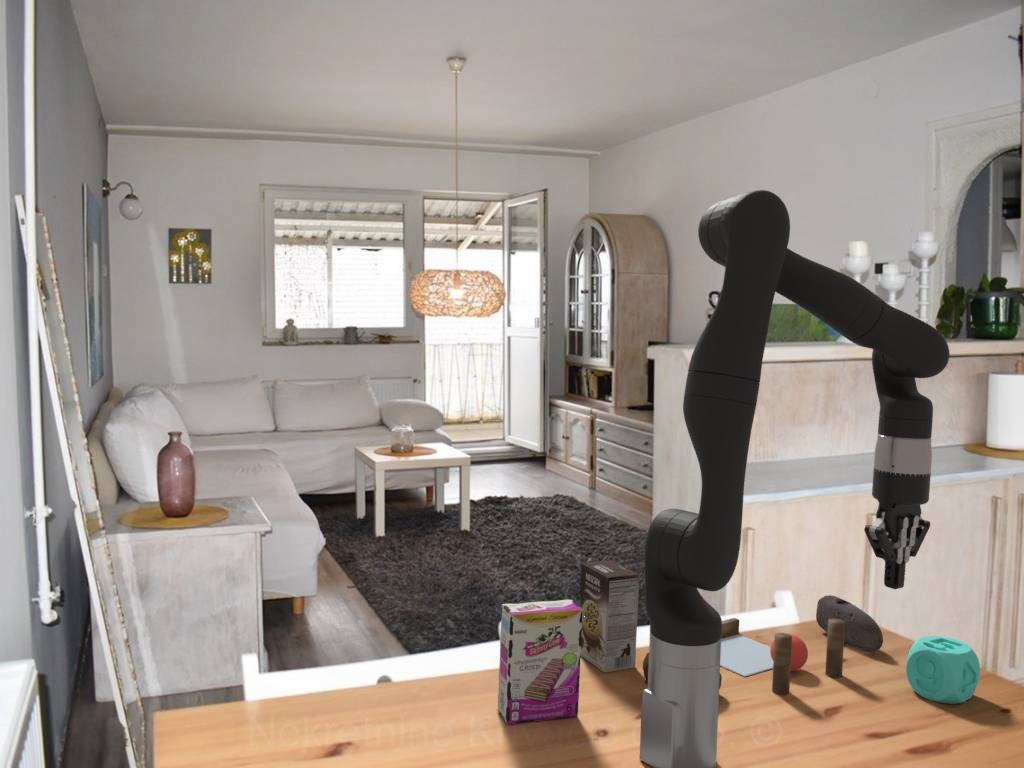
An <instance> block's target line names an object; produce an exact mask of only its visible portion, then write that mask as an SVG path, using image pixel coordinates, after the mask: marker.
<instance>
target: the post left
mask: <svg viewBox="0 0 1024 768" xmlns="http://www.w3.org/2000/svg"><path fill="white" fill-rule="evenodd" d="M789 634H790V633H785V632H777V633H774V640H775V641H774V640H773V641H774V662H773V669H772V683H771V684H772V686H771V691H772V693H773V694H775V695H779V696H787V695H790V686H791V684H790V683H791V671H790V669H791V649H792V636H791V635H789Z"/></svg>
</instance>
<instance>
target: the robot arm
mask: <svg viewBox="0 0 1024 768" xmlns="http://www.w3.org/2000/svg"><path fill="white" fill-rule="evenodd" d="M697 231H698V233H697V234H698V235H697V236H698V239H699V244H700V246H701V248H702V250H703V252H704V254H706V255H707V256H708V257H709V258H710V259H711V260H712V261H713V262H715V263H716V264H719V265H720V266H722V267H724V269H725V270H724V277H723V282H722V288H721V291H720V294H719V298H718V300H717V304H716V306H715V308H714V309H713V311H712V314H711V315H710V317H709V320H708V322H707V323H706V325H705V327H704V329H703V330H702V333H701V334H700V336H699V339H697V343H696V344H695V346H694V349H693V352H692V355H691V357H690V362H689V366H688V369H687V376H686V382H685V389H684V393H683V403H682V409H683V411H682V412H683V417H684V418H683V419H684V422H685V425H686V428H687V432H688V436H689V438H690V441H691V444H692V446H693V450H694V452H695V455H696V458H697V461H698V465H699V470H700V477H701V490H700V491H701V492H700V502H699V503H700V504H699V511H698V513H697V512H693V511H689V510H686V509H685V510H684V509H679V508H667V509H663V510H662V511H660V512H659V513H658V514H657V515H656V516H655V517H654V518H653V520H652V521H651V523H650V525H649V527H648V530H647V533H646V537H645V544H644V561H643V562H644V604H645V611H646V613H647V614H646V615H647V616H648V619H649V643H648V645H649V649H648V653H649V668H648V685H647V688H645V689H643V690H642V691H641V709H640V710H641V711H640V712H641V713H640V732H639V733H640V735H639V736H640V738H639V739H640V740H639V759H640V760H641V761H643V763H645V764H647V765H649V766H650V767H652V768H716V766H717V755H718V754H717V752H718V751H717V748H718V723H719V722H718V720H719V705H720V704H719V703H720V702H719V701H720V700H719V699H720V698H719V697H720V689H719V679H720V674H721V672H720V671H721V666H720V656H721V639H722V637H721V636H722V621H723V619H722V616H721V615H720V613H719V612H718V610H716V608H714V607H713V606H712V605H711V604H709V603H708V601H707V600H706V599H705V598H704V597H703V596H702V595H701V593H700V592H699V590H703V591H707V592H717V591H720V590H722V589H723V588H724V587H726V586H727V584H728V583H729V582H730V581H731V579H732V577H733V576H734V572H735V570H736V567H737V564H738V561H739V556H740V548H741V540H742V528H743V511H744V510H743V507H744V493H745V492H744V491H745V478H746V473H747V472H746V470H747V463H748V456H749V455H748V454H749V448H750V440H751V435H752V429H753V423H754V418H755V413H756V409H757V403H758V396H759V389H760V384H761V378H762V377H761V376H762V370H763V369H762V367H763V359H764V354H765V347H766V342H767V339H768V338H767V337H768V333H769V332H768V331H769V325H770V319H771V315H772V313H771V312H772V308H773V307H772V306H773V304H774V298H775V294H779V295H780V296H782V297H784V298H786V299H787V300H789V301H791V302H792V303H794V304H796V305H798V306H799V307H800V308H802V309H803V310H805V311H806V312H808V313H810V314H811V315H812V316H814V317H816V318H817V319H819V320H820V321H821V322H823V323H824V324H826V325H827V326H829V327H830V328H831V329H832V330H834V331H835V332H837V333H838V334H839V335H842V336H843V337H844V338H845V339H847V340H849V342H851V343H853V344H855V345H857V346H858V347H862V348H867V349H871V350H872V353H871V365H872V372H873V377H874V384H875V389H876V394H877V397H878V403H879V413H878V425H877V426H878V428H877V439H876V443H875V448H874V458H873V459H874V461H873V470H872V471H873V474H872V475H873V476H872V489H871V494H872V495H871V496H872V497H873V498H874V499H875V500H877V501H878V507H877V510H876V511H875V512H876V513H875V517H876V520H875V521H874V523H873V524H872V525H870V524H866V525H865V526H864V528H863V529H864V534H865V535H866V538H867V539H868V542H869V545H870V547H871V549H872V550H873V553H874V555H875V557H876V558H879V559H882V560H883V561H884V575H883V576H884V577H883V581H884V582H883V583H884V586H885V587H886V588H889V589H893V590H897V589H902V588H904V586H905V578H906V576H905V575H906V564H907V563H909V561H910V558H911V557H913V558H915V557H917V555H918V552H919V551H920V548H921V546H922V544H923V542H924V540H925V539H926V536H927V533H928V531H929V529H930V528H931V521H929V520H925V519H923V517H922V508H921V505H922V506H923V505H926V504H927V503H928V502H929V500H930V490H931V489H930V487H931V478H932V477H931V473H932V462H933V451H932V450H933V448H932V434H933V433H932V432H933V421H934V420H933V419H934V406H933V402H932V400H931V399H930V398H929V397H927V396H925V395H923V394H921V393H920V391H918V387H917V382H916V379H928V378H932V377H935V376H937V375H939V374H940V373H942V372H943V371H944V370H945V369H946V367H947V366H948V364H949V360H950V354H951V353H950V348H949V345H948V341H947V340H946V338H945V337H944V336H943V335H942V334H941V332H940V331H939V330H937V328H935V327H933V326H932V325H931V324H929V323H927V322H925V321H923V320H922V319H919V318H918V317H915V316H914V315H911V314H909V313H907V312H905V311H903V310H901V309H898V308H896V307H894V306H891V305H890V304H888V303H887V302H886V301H885V300H884V299H882V298H881V297H880V296H878V295H877V294H876V293H875V292H873V291H872V290H870V289H869V288H867V287H866V286H865V285H864V284H862V283H860V282H859V281H857V280H856V279H854V278H853V277H850V276H849V275H847V274H845V273H843V272H840V271H838V270H836V269H833V268H831V267H828V266H826V265H823V264H820V263H818V262H817V261H813V260H811V259H809V258H806V257H805V256H803V255H800V254H799V253H796V252H795V251H793V250H792V249H790V248H789V247H788V246H789V241H790V235H791V234H790V233H791V219H790V214H789V211H788V208H787V206H786V204H785V202H784V201H783V200H782V199H781V197H779V196H778V195H777V194H775V193H774V192H772V191H769V190H765V189H761V190H760V189H759V190H752V191H748V192H744V193H741V194H738V195H735V196H731V197H728V198H726V199H723V200H720V201H718V202H716V203H714V204H713V205H711V206H710V207H709V208H708V209H706V210H705V212H704V213H703V214H702V216H701V218H700V221H699V223H698V230H697ZM698 589H699V590H698Z"/></svg>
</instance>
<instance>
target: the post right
mask: <svg viewBox="0 0 1024 768" xmlns="http://www.w3.org/2000/svg"><path fill="white" fill-rule="evenodd" d="M844 631H845V622H844V621H843V620H839V619H829V620H828V633H826V635H827V637H826V653H825V671H824V673H825V675H826V676H827V677H829V678H835V679H838V678H842V677H843V667H844V665H843V664H844V648H845V647H844V646H845V642H844Z"/></svg>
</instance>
